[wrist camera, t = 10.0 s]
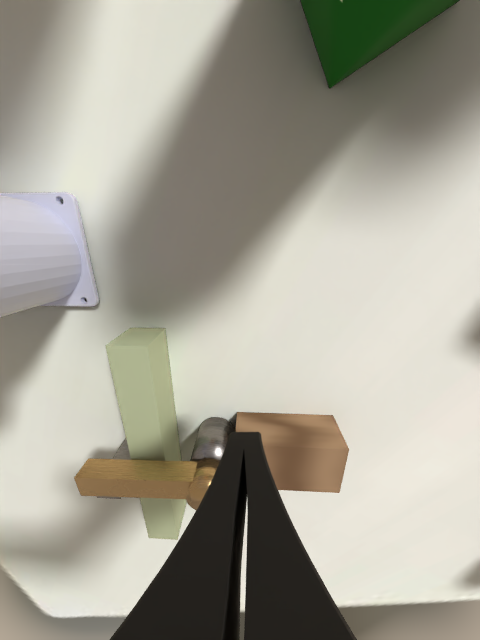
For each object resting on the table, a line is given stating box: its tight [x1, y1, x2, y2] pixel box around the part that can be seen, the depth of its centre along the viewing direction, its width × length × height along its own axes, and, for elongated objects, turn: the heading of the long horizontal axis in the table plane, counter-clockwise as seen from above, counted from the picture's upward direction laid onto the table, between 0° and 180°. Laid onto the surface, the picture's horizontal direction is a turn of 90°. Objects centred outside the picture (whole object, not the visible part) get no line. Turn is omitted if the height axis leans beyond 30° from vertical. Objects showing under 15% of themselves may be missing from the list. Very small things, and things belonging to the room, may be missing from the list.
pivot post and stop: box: [97, 417, 235, 499], centre depth 20 cm, size 11×4×5 cm, turn 90°
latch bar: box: [74, 458, 220, 510], centre depth 17 cm, size 12×3×2 cm, turn 91°
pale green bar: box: [106, 328, 187, 540], centre depth 21 cm, size 3×22×3 cm, turn 0°
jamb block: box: [236, 412, 349, 493], centre depth 20 cm, size 9×5×4 cm, turn 90°
